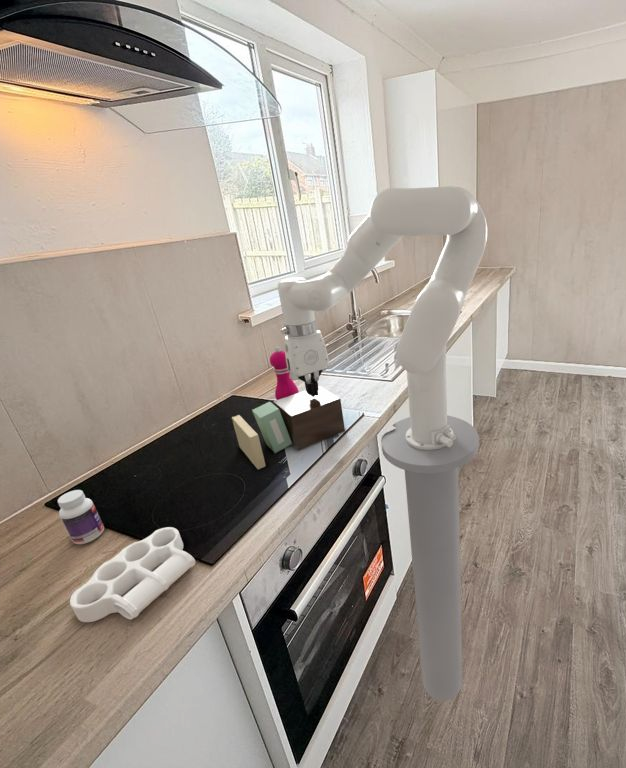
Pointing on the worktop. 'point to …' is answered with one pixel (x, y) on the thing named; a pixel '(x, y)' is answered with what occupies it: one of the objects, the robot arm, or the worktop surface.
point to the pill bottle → (80, 517)
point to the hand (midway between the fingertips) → (313, 394)
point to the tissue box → (272, 427)
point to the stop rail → (249, 441)
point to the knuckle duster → (133, 577)
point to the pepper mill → (282, 375)
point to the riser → (311, 417)
